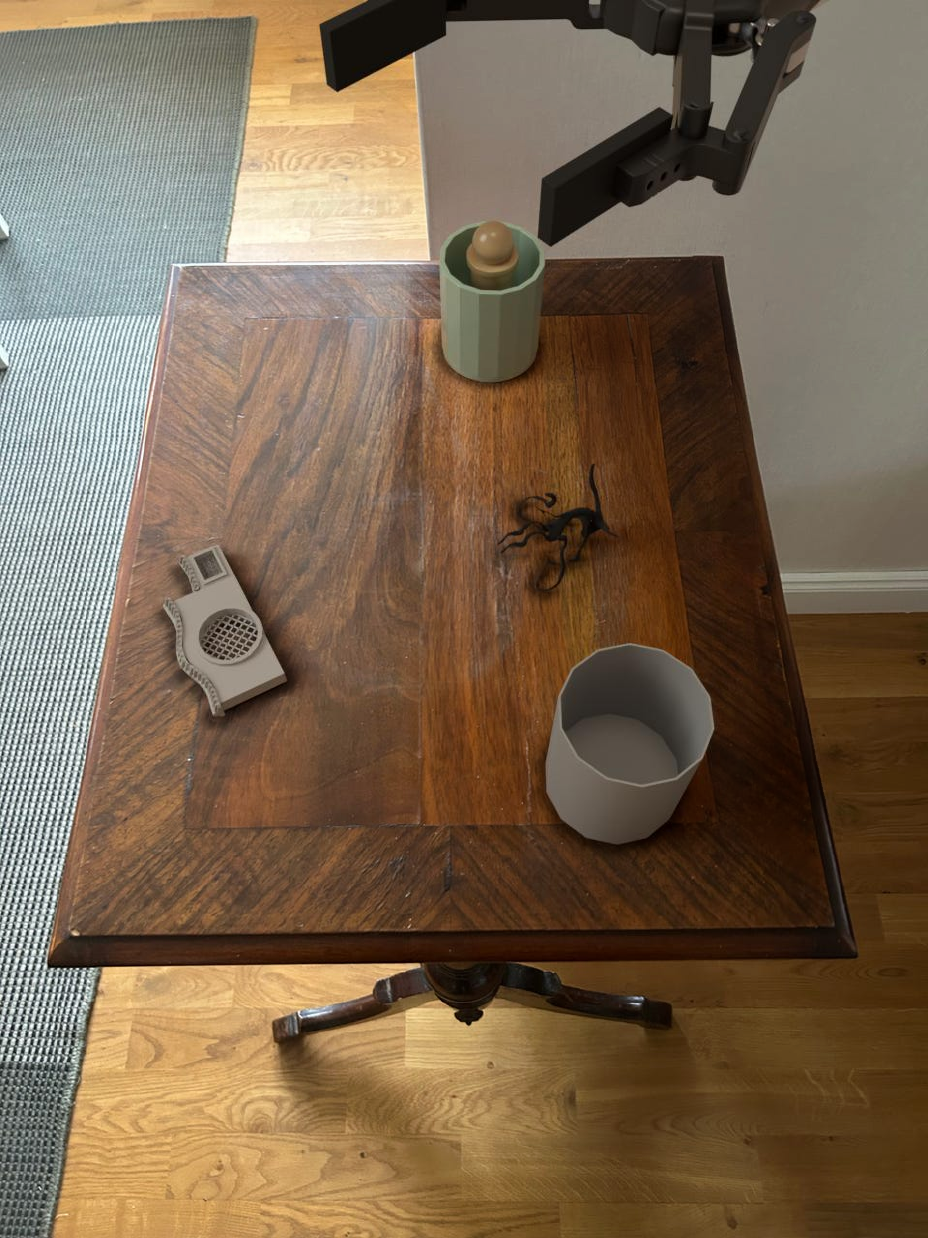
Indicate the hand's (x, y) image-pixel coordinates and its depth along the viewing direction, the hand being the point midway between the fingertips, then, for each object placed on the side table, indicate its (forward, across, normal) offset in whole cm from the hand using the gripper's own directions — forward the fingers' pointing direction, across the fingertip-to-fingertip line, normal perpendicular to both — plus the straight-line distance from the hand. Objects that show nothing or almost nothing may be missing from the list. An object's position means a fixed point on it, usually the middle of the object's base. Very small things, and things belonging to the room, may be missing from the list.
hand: (429, 132), depth 42 cm
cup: (+2, -18, -34) cm, 39 cm away
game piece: (-17, +14, -33) cm, 39 cm away
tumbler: (-17, +13, -33) cm, 40 cm away
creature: (-7, -3, -34) cm, 34 cm away
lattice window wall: (+12, +6, -33) cm, 35 cm away
